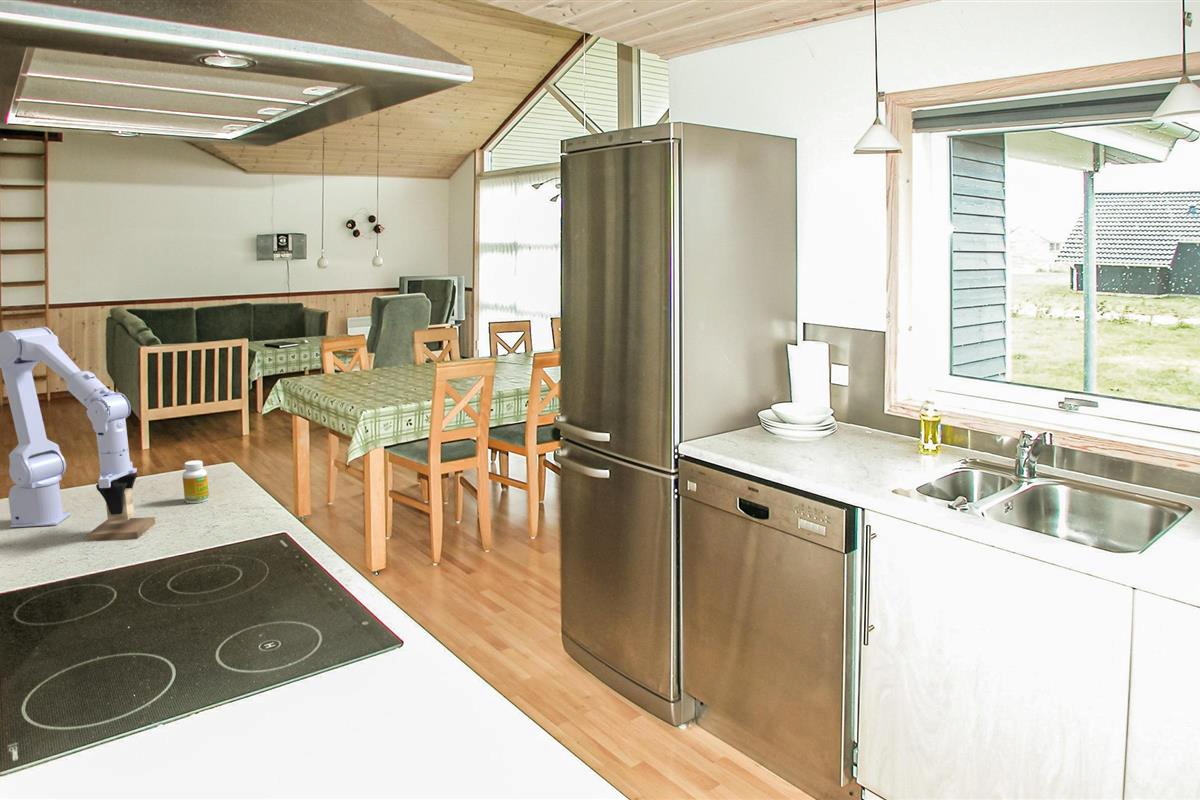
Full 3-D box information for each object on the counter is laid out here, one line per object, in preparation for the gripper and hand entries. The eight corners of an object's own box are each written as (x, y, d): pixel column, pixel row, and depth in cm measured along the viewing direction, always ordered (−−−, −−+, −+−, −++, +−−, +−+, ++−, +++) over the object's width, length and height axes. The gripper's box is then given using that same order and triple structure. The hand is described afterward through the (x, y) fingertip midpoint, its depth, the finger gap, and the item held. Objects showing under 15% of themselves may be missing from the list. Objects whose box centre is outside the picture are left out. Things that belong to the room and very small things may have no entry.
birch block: (108, 521, 185) (105, 494, 184) (114, 515, 189) (111, 489, 188) (128, 520, 186) (125, 493, 185) (134, 514, 190) (131, 488, 189)
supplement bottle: (199, 504, 207) (196, 465, 205) (180, 503, 208) (176, 464, 206) (213, 498, 212) (210, 460, 210) (194, 496, 213) (191, 459, 212)
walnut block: (88, 543, 183) (87, 534, 182) (108, 527, 193) (107, 519, 192) (137, 540, 184) (136, 532, 184) (155, 525, 194) (154, 517, 193)
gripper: (121, 457, 178) (128, 520, 181) (144, 441, 192) (150, 499, 195) (84, 459, 177) (92, 522, 180) (110, 443, 191) (117, 501, 194)
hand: (120, 510), depth 187 cm, fingers closed on birch block, 4 cm apart
